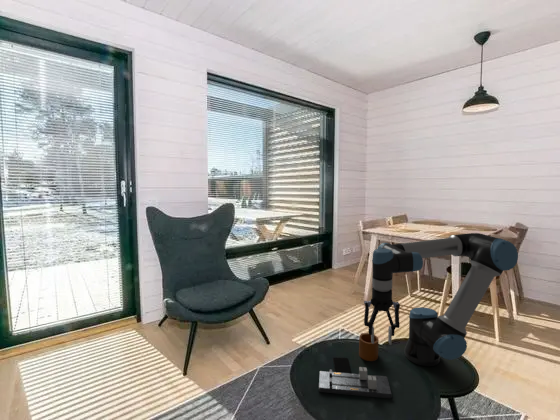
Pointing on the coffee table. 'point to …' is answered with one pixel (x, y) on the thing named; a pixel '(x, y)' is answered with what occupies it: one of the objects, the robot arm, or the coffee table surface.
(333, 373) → the console
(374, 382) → the block
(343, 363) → the smartphone
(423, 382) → the coffee table surface
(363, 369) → the fader
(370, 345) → the mug
